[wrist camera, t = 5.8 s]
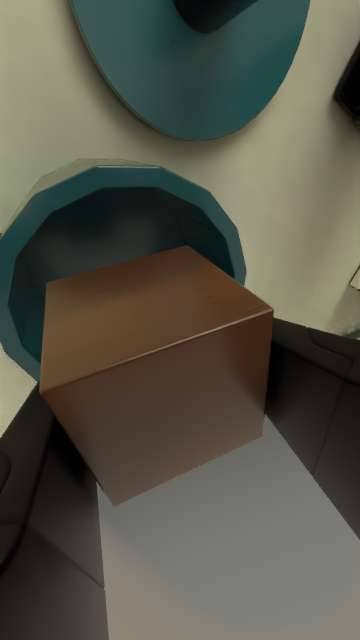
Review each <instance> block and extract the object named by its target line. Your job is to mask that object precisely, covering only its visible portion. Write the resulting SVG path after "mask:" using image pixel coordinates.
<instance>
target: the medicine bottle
mask: <svg viewBox="0 0 360 640" xmlns="http://www.w3.org/2000/svg"><path fill="white" fill-rule="evenodd" d="M350 286H351V287H352V288H354V289H356V290H358V291H360V268H359V270H358V272H357V273H356V275H355V276H354V278H353V280H352V281H351V283H350Z"/></svg>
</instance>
